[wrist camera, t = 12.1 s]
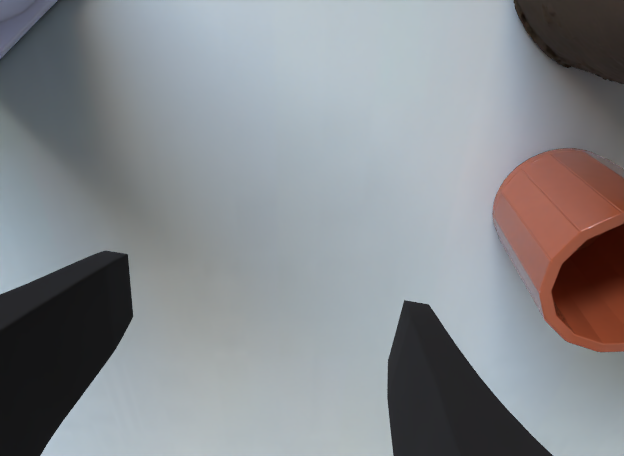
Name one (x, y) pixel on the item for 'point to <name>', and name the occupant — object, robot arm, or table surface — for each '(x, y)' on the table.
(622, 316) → the terracotta pipe segment
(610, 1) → the pillar candle
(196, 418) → the table surface
